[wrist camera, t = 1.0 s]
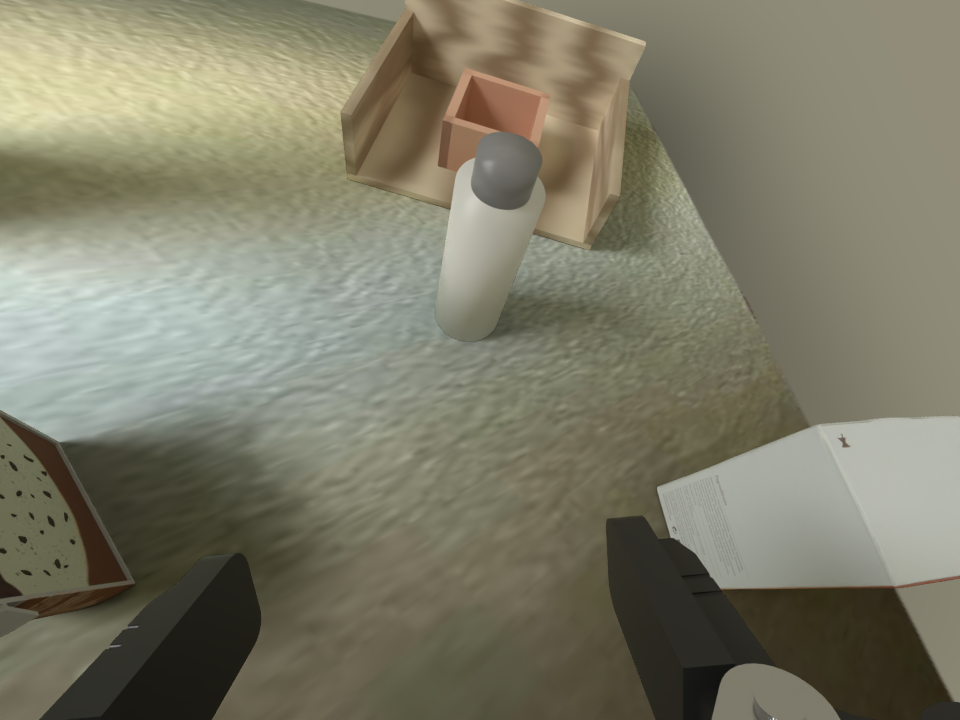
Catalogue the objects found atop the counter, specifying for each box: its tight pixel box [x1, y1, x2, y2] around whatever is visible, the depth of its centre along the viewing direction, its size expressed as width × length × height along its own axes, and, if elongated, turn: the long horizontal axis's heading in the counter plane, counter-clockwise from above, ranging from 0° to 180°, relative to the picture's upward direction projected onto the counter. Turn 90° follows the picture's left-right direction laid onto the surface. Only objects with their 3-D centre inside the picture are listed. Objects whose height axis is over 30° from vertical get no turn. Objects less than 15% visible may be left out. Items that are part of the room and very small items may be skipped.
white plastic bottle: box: [435, 132, 546, 342], centre depth 27 cm, size 5×5×14 cm
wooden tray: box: [341, 0, 646, 250], centre depth 38 cm, size 22×17×9 cm
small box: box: [657, 416, 960, 590], centre depth 24 cm, size 8×6×13 cm
